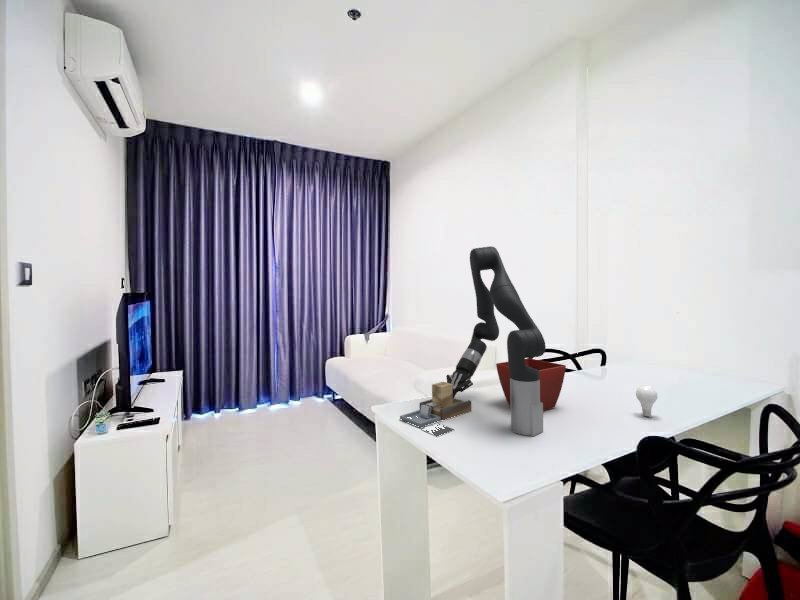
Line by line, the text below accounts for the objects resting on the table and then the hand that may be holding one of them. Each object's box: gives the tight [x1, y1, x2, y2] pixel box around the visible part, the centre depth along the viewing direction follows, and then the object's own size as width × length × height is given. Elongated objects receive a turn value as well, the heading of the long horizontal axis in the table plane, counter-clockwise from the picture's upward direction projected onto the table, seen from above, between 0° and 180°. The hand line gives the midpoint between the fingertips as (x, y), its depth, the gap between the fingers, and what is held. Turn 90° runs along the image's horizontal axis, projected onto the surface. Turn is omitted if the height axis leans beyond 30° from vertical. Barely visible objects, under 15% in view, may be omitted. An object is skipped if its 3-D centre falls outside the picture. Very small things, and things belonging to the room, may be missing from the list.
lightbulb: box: [635, 385, 658, 418], centre depth 129 cm, size 6×6×11 cm
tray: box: [399, 409, 441, 428], centre depth 132 cm, size 11×10×2 cm
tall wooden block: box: [431, 381, 453, 408], centre depth 139 cm, size 5×6×8 cm
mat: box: [426, 422, 455, 437], centre depth 122 cm, size 8×8×1 cm
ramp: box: [419, 397, 472, 421], centre depth 140 cm, size 12×16×4 cm
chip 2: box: [426, 402, 441, 411], centre depth 136 cm, size 4×4×2 cm
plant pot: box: [495, 358, 567, 411], centre depth 144 cm, size 19×19×17 cm
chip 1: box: [420, 405, 432, 419], centre depth 134 cm, size 4×4×2 cm
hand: (449, 398), depth 141 cm, fingers closed
